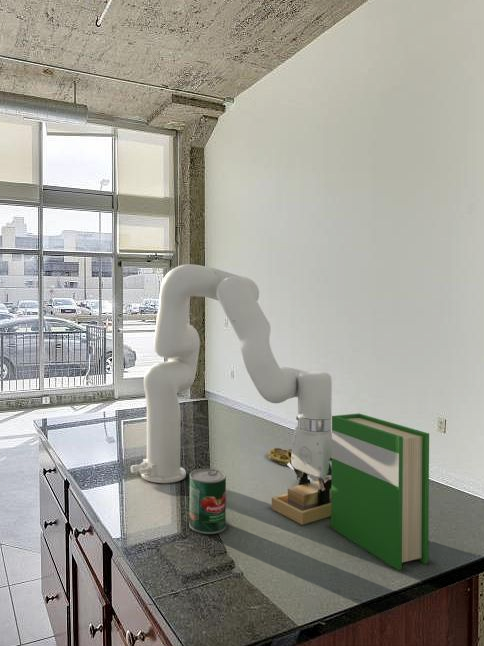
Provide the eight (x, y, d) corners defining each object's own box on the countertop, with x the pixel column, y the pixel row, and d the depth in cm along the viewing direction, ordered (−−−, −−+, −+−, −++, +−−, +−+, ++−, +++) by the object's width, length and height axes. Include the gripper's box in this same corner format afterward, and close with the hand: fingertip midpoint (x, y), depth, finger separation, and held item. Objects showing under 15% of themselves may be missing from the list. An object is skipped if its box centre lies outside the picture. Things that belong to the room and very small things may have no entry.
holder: (302, 524, 105) (302, 513, 105) (271, 508, 113) (271, 497, 113) (356, 508, 113) (356, 497, 113) (323, 494, 122) (324, 484, 122)
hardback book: (428, 562, 90) (429, 433, 90) (397, 569, 87) (398, 437, 87) (358, 522, 106) (359, 413, 106) (331, 527, 104) (331, 415, 103)
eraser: (303, 511, 108) (303, 495, 108) (287, 503, 112) (287, 488, 112) (340, 501, 114) (340, 485, 114) (323, 493, 118) (323, 479, 118)
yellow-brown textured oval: (260, 456, 155) (283, 471, 141) (259, 442, 155) (282, 455, 141) (286, 451, 158) (312, 465, 143) (284, 436, 158) (310, 449, 143)
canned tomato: (216, 537, 99) (216, 484, 99) (182, 528, 103) (182, 476, 103) (231, 522, 106) (232, 472, 105) (199, 514, 110) (199, 466, 110)
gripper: (276, 418, 119) (276, 492, 119) (332, 434, 104) (332, 518, 104) (298, 415, 122) (298, 486, 123) (355, 430, 108) (355, 511, 108)
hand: (313, 500), depth 113 cm, fingers closed on eraser, 5 cm apart
